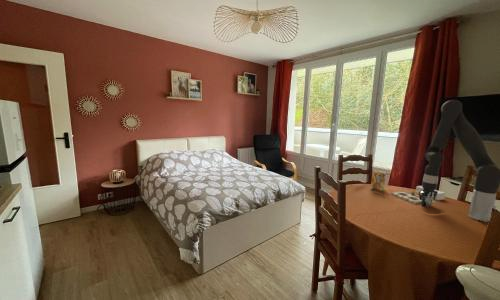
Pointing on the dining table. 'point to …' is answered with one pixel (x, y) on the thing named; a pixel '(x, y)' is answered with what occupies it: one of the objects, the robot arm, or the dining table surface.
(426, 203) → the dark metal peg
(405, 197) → the cream peg board
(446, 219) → the dining table surface
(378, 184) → the candy box
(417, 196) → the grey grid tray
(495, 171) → the robot arm
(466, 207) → the dining table surface
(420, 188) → the grey housing
